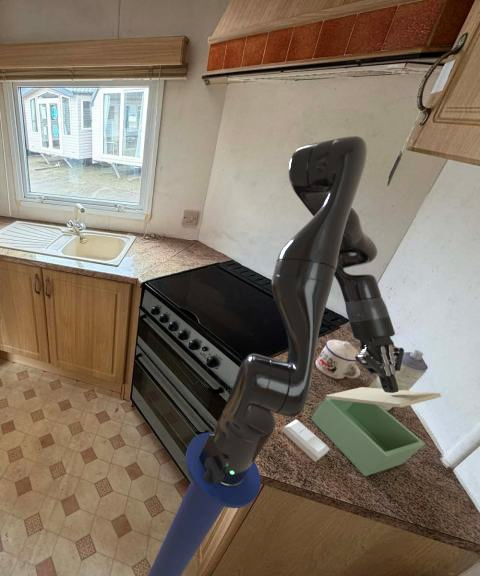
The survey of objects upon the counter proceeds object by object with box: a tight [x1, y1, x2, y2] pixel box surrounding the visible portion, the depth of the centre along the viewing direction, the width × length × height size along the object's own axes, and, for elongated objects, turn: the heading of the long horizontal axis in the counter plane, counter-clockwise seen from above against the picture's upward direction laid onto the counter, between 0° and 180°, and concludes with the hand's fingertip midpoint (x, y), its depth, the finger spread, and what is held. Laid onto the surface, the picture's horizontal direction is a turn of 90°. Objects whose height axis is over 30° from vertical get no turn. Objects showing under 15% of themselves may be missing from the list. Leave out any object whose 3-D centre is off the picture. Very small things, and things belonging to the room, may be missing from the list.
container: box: [310, 397, 426, 477], centre depth 78 cm, size 16×13×9 cm
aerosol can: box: [367, 349, 429, 412], centre depth 86 cm, size 7×7×20 cm
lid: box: [325, 386, 442, 408], centre depth 74 cm, size 16×13×1 cm
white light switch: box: [281, 419, 331, 463], centre depth 78 cm, size 5×9×3 cm, turn 28°
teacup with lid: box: [315, 339, 361, 380], centre depth 97 cm, size 12×9×12 cm
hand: (391, 392), depth 71 cm, fingers closed
